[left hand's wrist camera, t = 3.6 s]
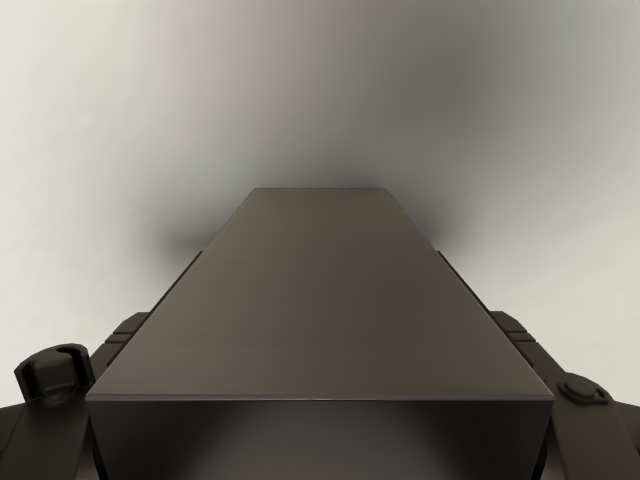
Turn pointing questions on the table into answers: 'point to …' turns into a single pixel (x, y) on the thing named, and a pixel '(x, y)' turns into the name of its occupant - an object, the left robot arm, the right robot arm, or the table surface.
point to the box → (319, 358)
